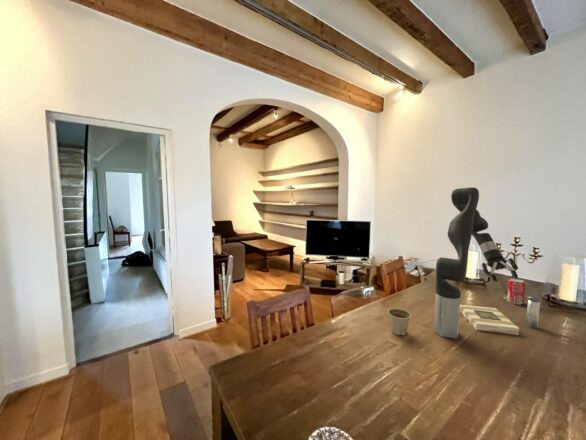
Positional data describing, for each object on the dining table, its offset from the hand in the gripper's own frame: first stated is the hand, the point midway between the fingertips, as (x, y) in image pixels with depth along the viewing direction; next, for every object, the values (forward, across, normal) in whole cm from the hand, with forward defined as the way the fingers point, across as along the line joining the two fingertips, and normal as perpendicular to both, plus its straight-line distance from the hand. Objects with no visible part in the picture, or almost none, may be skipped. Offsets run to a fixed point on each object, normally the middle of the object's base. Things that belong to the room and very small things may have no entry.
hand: (506, 280), depth 126 cm
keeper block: (+18, -17, -3) cm, 25 cm away
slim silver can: (+22, 0, 0) cm, 22 cm away
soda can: (+7, +8, +25) cm, 27 cm away
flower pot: (+21, -58, -26) cm, 67 cm away
